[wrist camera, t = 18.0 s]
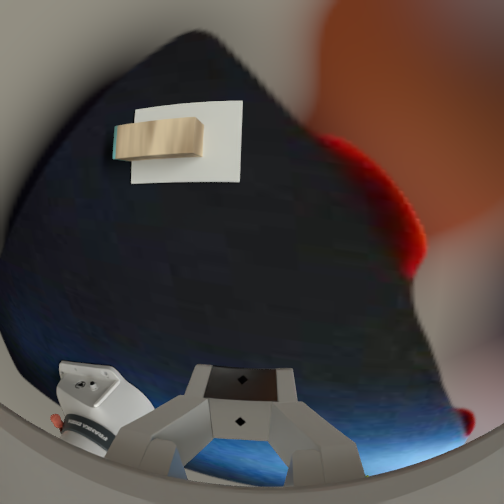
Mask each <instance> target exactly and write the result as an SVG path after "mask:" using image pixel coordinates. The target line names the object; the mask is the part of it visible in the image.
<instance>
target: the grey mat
mask: <svg viewBox="0 0 504 504" xmlns="http://www.w3.org/2000/svg"><path fill="white" fill-rule="evenodd" d="M242 108H243V101H215V102H198V103H185V104H175V105H166V106H158V107H151V108H144V109H138V110H135V120H134V123H139V122H146V121H154V120H163V119H173V118H184V117H196V118H197V119H198V120H199V121H200V122H201V123H203V124H204V135H203V157H186V158H166V159H151V160H139V161H132V168H131V184H140V183H165V182H240V160H241V133H242Z"/></svg>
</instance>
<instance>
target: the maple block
mask: <svg viewBox="0 0 504 504" xmlns="http://www.w3.org/2000/svg"><path fill="white" fill-rule="evenodd" d="M203 135H204V124H203V123H201V122H200V121H199V120H198V119H197V118H196V117H184V118H173V119H163V120H154V121H146V122H139V123H132V124H126V125H120V126H115V131H114V144H113V159H115V160H123V161H139V160H151V159H166V158H186V157H203Z"/></svg>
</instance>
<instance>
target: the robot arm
mask: <svg viewBox="0 0 504 504" xmlns="http://www.w3.org/2000/svg"><path fill="white" fill-rule="evenodd" d="M59 373H60V377H61V380H60V382H59V383H58V385H57V397H58V400H59V403H60V405H61V408H62V411H63V413H64V416H65V419H64V423H63V422H62V420H61V418H60V416H59V415H58V414H55V415H54V414H53V416H52V415H51V421H52V422H53V424H54V426H55V427H56V428H59V429H60V432H61V434H62V435H61V437H60V438H58V437H56V436H54V435H52V434H50V433H48V432H46V431H44V430H43V429H41V428H39V427H37V426H35V425H34V424H32V423H30V422H29V421H27V420H26V419H24V418H22V417H21V416H19V415H18V414H16V413H15V412H13V411H12V410H10V409H9V408H7V407H6V406H4V405H3V404H1V403H0V504H504V423H503V424H501V425H500V426H498V427H496V428H495V429H493V430H491V431H489V432H488V433H486V434H484V435H482V436H480V437H478V438H476V439H474V440H472V441H470V442H468V443H466V444H464V445H462V446H460V447H458V448H455V449H453V450H451V451H448V452H446V453H444V454H441V455H439V456H436V457H433V458H431V459H428V460H425V461H422V462H420V463H417V464H414V465H410V466H407V467H404V468H401V469H397V470H393V471H390V472H386V473H382V474H378V475H373V476H369V477H365V474H364V470H363V467H362V463H361V460H360V457H359V453H358V450H357V447H356V443H354V442H353V441H352V440H350V439H349V438H347V437H346V436H345V435H344V434H342V433H341V432H340V431H338V430H337V429H336V428H334V427H333V426H332V425H331V424H329V423H328V422H327V421H325V420H324V419H323V418H322V417H320V416H319V415H318V414H317V413H315V412H314V411H313V410H312V409H311V408H309V407H308V406H307V405H306V404H305V403H303V402H298V401H297V394H296V388H295V381H294V374H293V369H292V368H276V369H253V368H238V367H226V366H215V365H213V366H212V365H204V364H197V365H196V366H195V368H194V371H193V374H192V376H191V379H190V381H189V384H188V387H187V389H186V392H185V395H184V396H183V395H179V396H177V397H175V398H174V399H172V400H170V401H169V402H167V403H165V404H163V405H162V406H160V407H158V408H156V409H154V407H153V406H152V404H151V402H150V401H149V400H148V399H147V398H146V396H145V395H144V394H143V393H141V392H140V391H139V390H138V389H137V388H135V387H134V386H133V385H131V384H130V383H128V382H127V381H126V380H125V379H124V378H123V377H122V376H121V375H120V373H119V372H118V371H117V370H116V369H115V368H113V367H111V366H104V365H94V364H85V363H76V362H69V361H61V363H60V364H59ZM213 438H224V439H242V440H258V441H268V442H269V443H270V445H271V446H272V447H273V449H274V450H275V451H276V453H277V454H278V455H279V456H280V458H281V459H282V460H283V462H284V463H285V464H286V465H287V466H288V468H289V469H288V472H287V476H286V480H285V484H284V487H247V486H231V485H220V484H211V483H203V482H197V481H191V480H188V479H187V476H186V473H185V470H184V467H183V466H184V465H185V464H187V463H188V462H189V461H190V460H191V459H192V458H193V457H194V456H195V455H197V454H198V453H199V452H200V451H201V450H202V449H203V448H204V447H205V446H206V445H207V444H208V443H209V442H211V441H212V440H213Z"/></svg>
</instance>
